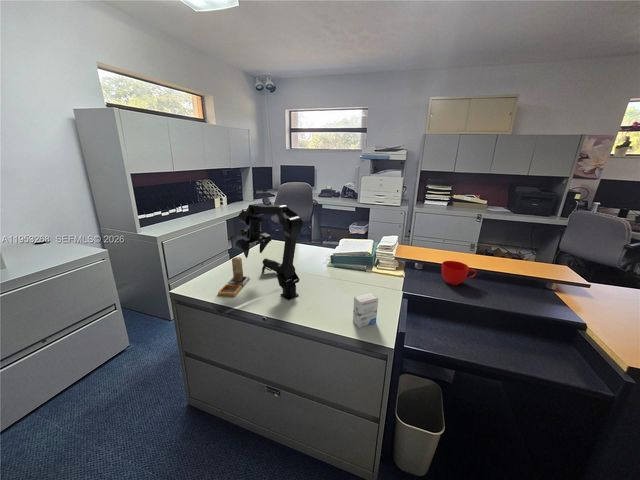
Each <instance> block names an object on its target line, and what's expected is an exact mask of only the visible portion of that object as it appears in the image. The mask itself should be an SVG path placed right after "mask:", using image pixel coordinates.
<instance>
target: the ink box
mask: <svg viewBox="0 0 640 480" xmlns="http://www.w3.org/2000/svg"><path fill="white" fill-rule="evenodd" d="M378 304H379V297H378V296H376V295H375V294H373V293H372V292H370V293H365V294H361V295H357V296H354V297H353V313H352V315H353V316H352V322H353V323H354V324H355V325H356V327H357V328H359V329H360V328H363V327H367V326H369V325H372V324H376V323H377V317H378V316H377V315H378V308H379V307H378Z"/></svg>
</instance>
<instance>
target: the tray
mask: <svg viewBox="0 0 640 480" xmlns="http://www.w3.org/2000/svg"><path fill="white" fill-rule="evenodd" d="M250 280H251V278H250V276H247V275H246V276H244V275H243V282H242V283H238V282H234V277H231V279H229V280H228V282H227V283H226V284H224V286H222V287H221V288H220V289H219V291H218V292H217V295H216V297H226V298H236V297H237V295H238V294H239V293H241V291H242V290H243V288H244V287H245V286H246V285H247V283H248V282H249V281H250Z"/></svg>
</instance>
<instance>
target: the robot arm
mask: <svg viewBox="0 0 640 480" xmlns="http://www.w3.org/2000/svg"><path fill="white" fill-rule="evenodd" d="M261 215H277V217H278V221H279V223H280V224H281V226H282V232H283V233H284V235H285V240H284V247H283V254H282V261H281V262H282V263H280V265H278V266H277V272H275V273H276V278H277V281H278V282H277V283H278V286H280V288H281V289H282V292H281V293H280V294H279V295H280V296H281V297H283V298H284V299H286V300H288V301H290V300H292V299H294V298H296V297H298V296H299V293H297V285H296V284H298V283H299V282H300V277H299V275H298V274H297V273H296V268H295V266H294V259H295V252H296V246H297V245H296V244H297V238H298V236H299V235H300V233H301V232H302V229H303V226H304V220H302V218H301V217H300V216H299V214H298V213H296V211H294V210H292V209H290V207H289V206H287V205H285V204H281V205H266V204H265V203H259V202H258V203H252V204H251V203H250V204H248V207H247V208H243V209H241V211H240V213H239V214H238V216H237V217H238V221H239V222H241V223H243V224H245V225H248V228H247V229H239V231H238V236H240V237H242V238H241V239H238V240H236V241H235V246H236V247H238V248H239V249H241V250H242V252H243V255H244V257H245V258H246V259H248V257H249V252H250V245H251V244H254V243H258V242H259V253H260V254H262V253H263V251H264V250H265V248H266V247H267V245H268V244H270V242H272V240H273V239H272V235H270V234H268V233H267V232H263V230H262V223H264V222H265V220H264V219H263V217H262V216H261ZM284 215H285V216H287V218H286V217H285V216H284ZM244 237H245V238H246V239H247V240H245V239H244Z"/></svg>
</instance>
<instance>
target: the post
mask: <svg viewBox="0 0 640 480" xmlns="http://www.w3.org/2000/svg"><path fill="white" fill-rule="evenodd" d="M231 262H232V265H231V266H232V267H231V268H232V275H233V277H234V282H238V283H242V282H243V276H244V271H243V269H244V268H243V259H242V257H239V256H237V257H233V258H232V259H231ZM233 277H232V278H233Z"/></svg>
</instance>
